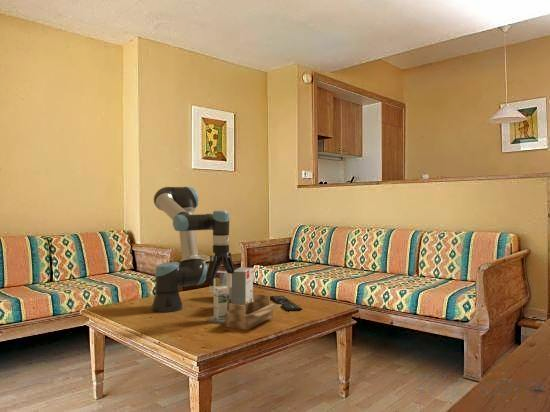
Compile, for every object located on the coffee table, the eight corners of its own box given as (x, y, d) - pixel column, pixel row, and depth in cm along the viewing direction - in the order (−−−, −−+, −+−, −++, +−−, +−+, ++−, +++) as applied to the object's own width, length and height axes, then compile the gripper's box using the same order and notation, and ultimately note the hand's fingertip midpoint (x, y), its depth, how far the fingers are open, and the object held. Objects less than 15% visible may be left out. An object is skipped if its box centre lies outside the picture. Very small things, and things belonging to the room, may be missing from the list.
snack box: (250, 300, 244) (249, 273, 243) (244, 302, 239) (244, 274, 239) (219, 296, 255) (219, 270, 254) (213, 298, 250) (213, 271, 250)
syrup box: (217, 320, 200) (217, 288, 199) (213, 317, 205) (213, 286, 205) (229, 318, 202) (229, 287, 202) (224, 315, 207) (224, 285, 207)
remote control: (282, 298, 251) (282, 294, 250) (302, 311, 220) (302, 307, 220) (269, 299, 248) (269, 295, 248) (287, 312, 218) (287, 308, 218)
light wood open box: (225, 326, 193) (225, 303, 193) (251, 313, 214) (251, 293, 214) (258, 331, 186) (258, 307, 186) (282, 317, 207) (282, 296, 207)
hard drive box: (245, 312, 218) (245, 272, 217) (230, 311, 219) (230, 271, 219) (253, 304, 233) (253, 267, 233) (239, 304, 235) (239, 266, 234)
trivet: (206, 321, 201) (206, 319, 201) (218, 316, 210) (218, 314, 210) (224, 324, 197) (224, 321, 197) (236, 318, 206) (236, 316, 206)
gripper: (212, 247, 190) (212, 296, 191) (241, 241, 212) (241, 285, 213) (198, 246, 193) (197, 294, 194) (228, 241, 216) (228, 283, 216)
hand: (220, 289), depth 204 cm, fingers open, 13 cm apart
